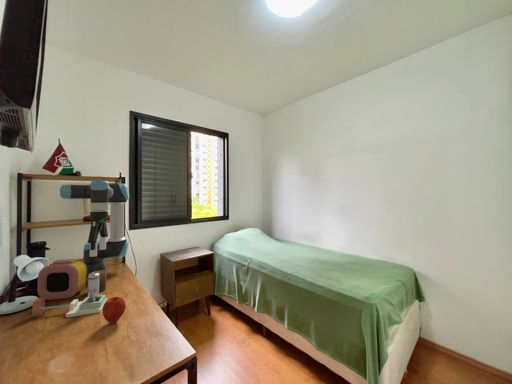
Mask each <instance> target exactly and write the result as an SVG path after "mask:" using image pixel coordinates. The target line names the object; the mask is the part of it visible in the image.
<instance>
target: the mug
mask: <svg viewBox="0 0 512 384" xmlns="http://www.w3.org/2000/svg"><path fill="white" fill-rule="evenodd" d="M92 273H100V276H99V293H102V292H103V291H105V290H106V288H107V275H108V273H109V271H108V270H107V271H106V270H101V271H95V272H92ZM90 274H91V273H90ZM85 285H86V286H85V287H86V288H87V289H88V278H87V279H86V281H85Z"/></svg>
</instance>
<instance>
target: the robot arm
mask: <svg viewBox="0 0 512 384" xmlns="http://www.w3.org/2000/svg"><path fill="white" fill-rule="evenodd" d="M129 192H130V190H129V187H128V185H127V184H126V183H119V182H118V183H117V182H116V183H113V182H111V183H109V181H107V180H92V181H91V182H90V184H69V183H68V184H62V185H61V186H60V188H59V196H60V197H61V199H62V200H63V199H67V200H89V203H90V204H89V205H88V206H89V210H90V211H89V219H90V220H93V221H91V223H90V229H89V235H88V240H87V243H84V245H83V250H82V251H83V252H82V253H83V257H82V258H83V261H82V262H84V263H85V265H86V266H87V278H88V275H89V274H90V273H92V272H95V271H101V270H106V271H108V270H107V267H106V266H107V265H106V263H105V259H114V258H123V257H125V256H127V254H128V248H129V240H127V236H125V204H126V203H127V202H128V200H129V199H130V193H129ZM109 206H110V209H109ZM108 210H109V211H108ZM109 215H110V217H109ZM109 218H110V219H109ZM107 219H109V224H110V225H109V234H108V229H107V228H108V227H107ZM98 236H100V237H98ZM108 237H109V238H108ZM98 238H99V239H98ZM107 238H108V239H107Z"/></svg>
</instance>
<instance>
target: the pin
mask: <svg viewBox="0 0 512 384" xmlns="http://www.w3.org/2000/svg"><path fill="white" fill-rule="evenodd" d="M77 304H78V303H75V305H77ZM31 306H32V308H31V309H32V310H31V313H32V315H31V318H37V317H41V316H42V315H43V314H44V313H45V311H46V310H47V311H48V310H51V309H52V310H53V309H58V308H59V309H60V308H66V307H70V303H63V304H57V305H50V306H46V300H45V297H42V298H41V297H37V298H36V299H34V300H32V305H31Z"/></svg>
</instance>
